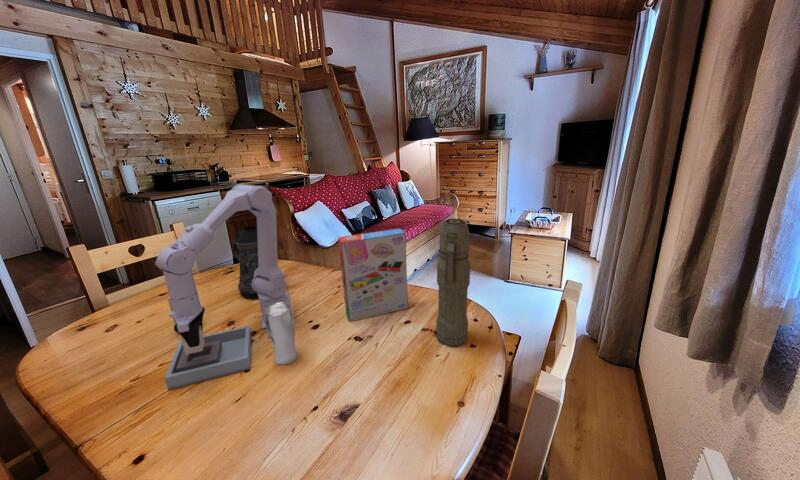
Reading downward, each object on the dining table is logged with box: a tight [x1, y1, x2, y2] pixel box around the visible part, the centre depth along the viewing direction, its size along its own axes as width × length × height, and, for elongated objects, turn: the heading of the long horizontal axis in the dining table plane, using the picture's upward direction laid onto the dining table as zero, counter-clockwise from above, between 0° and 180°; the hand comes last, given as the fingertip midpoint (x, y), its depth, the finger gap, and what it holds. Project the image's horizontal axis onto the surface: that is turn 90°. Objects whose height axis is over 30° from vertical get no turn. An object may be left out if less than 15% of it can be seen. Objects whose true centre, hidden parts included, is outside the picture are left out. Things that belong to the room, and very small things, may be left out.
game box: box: [338, 228, 409, 323], centre depth 105 cm, size 21×6×27 cm, turn 110°
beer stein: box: [231, 226, 259, 301], centre depth 123 cm, size 16×19×25 cm
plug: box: [180, 326, 205, 355], centre depth 84 cm, size 4×4×7 cm
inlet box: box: [164, 325, 253, 391], centre depth 88 cm, size 18×16×4 cm
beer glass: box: [264, 302, 299, 366], centre depth 86 cm, size 7×7×15 cm
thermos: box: [435, 218, 471, 348], centre depth 89 cm, size 9×12×35 cm
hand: (196, 341), depth 85 cm, fingers closed on plug, 4 cm apart
